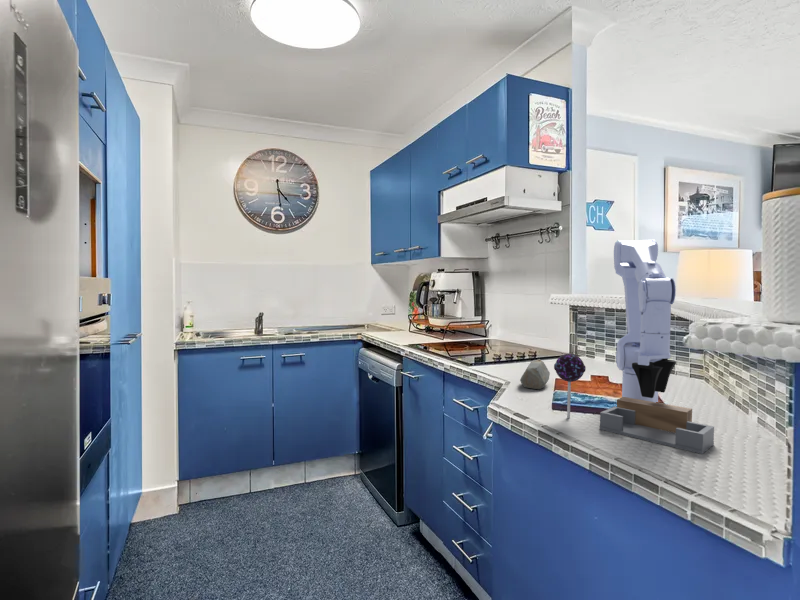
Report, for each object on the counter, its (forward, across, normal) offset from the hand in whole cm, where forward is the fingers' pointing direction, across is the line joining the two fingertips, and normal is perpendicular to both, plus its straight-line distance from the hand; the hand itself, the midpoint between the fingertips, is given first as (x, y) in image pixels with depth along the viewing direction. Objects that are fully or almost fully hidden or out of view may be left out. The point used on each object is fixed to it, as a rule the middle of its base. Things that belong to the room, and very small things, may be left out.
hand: (653, 394), depth 101 cm
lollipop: (+7, +8, -15) cm, 19 cm away
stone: (+7, -16, -38) cm, 42 cm away
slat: (+7, 0, 0) cm, 7 cm away
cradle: (+7, +8, +3) cm, 11 cm away
